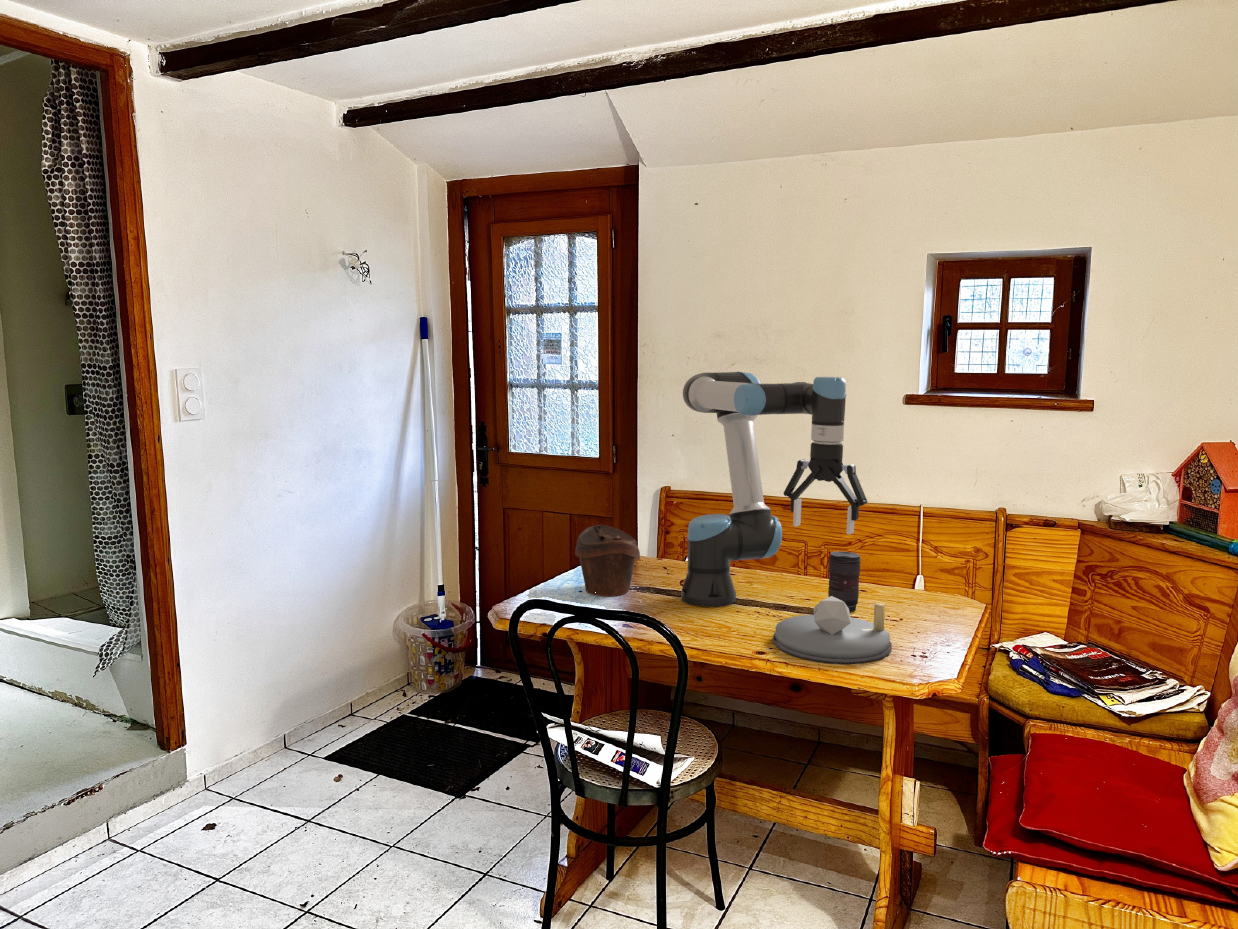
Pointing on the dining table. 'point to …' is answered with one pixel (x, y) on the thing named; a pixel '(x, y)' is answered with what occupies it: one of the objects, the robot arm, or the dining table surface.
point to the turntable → (835, 637)
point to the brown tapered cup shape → (606, 560)
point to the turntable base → (832, 660)
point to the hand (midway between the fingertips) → (822, 529)
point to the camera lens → (844, 577)
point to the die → (831, 615)
